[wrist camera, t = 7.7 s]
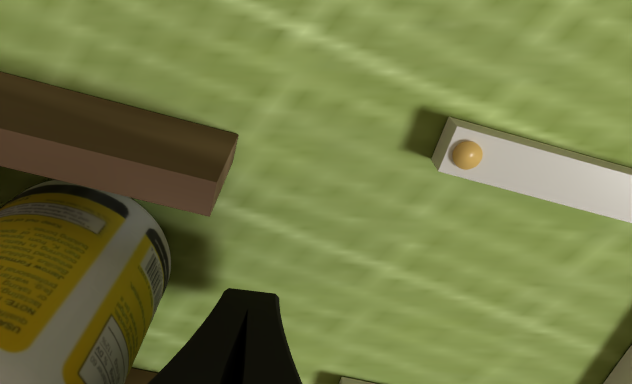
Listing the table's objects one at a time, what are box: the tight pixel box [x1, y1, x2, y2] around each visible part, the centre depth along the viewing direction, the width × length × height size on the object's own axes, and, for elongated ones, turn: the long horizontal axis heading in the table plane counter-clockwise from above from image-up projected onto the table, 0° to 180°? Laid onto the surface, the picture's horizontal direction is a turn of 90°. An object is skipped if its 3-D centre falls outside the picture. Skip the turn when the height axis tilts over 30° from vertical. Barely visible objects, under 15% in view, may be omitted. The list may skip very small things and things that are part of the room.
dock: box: [339, 117, 632, 384], centre depth 14 cm, size 10×10×1 cm
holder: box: [0, 72, 238, 384], centre depth 12 cm, size 10×8×3 cm
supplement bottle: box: [0, 180, 171, 384], centre depth 10 cm, size 5×5×8 cm
